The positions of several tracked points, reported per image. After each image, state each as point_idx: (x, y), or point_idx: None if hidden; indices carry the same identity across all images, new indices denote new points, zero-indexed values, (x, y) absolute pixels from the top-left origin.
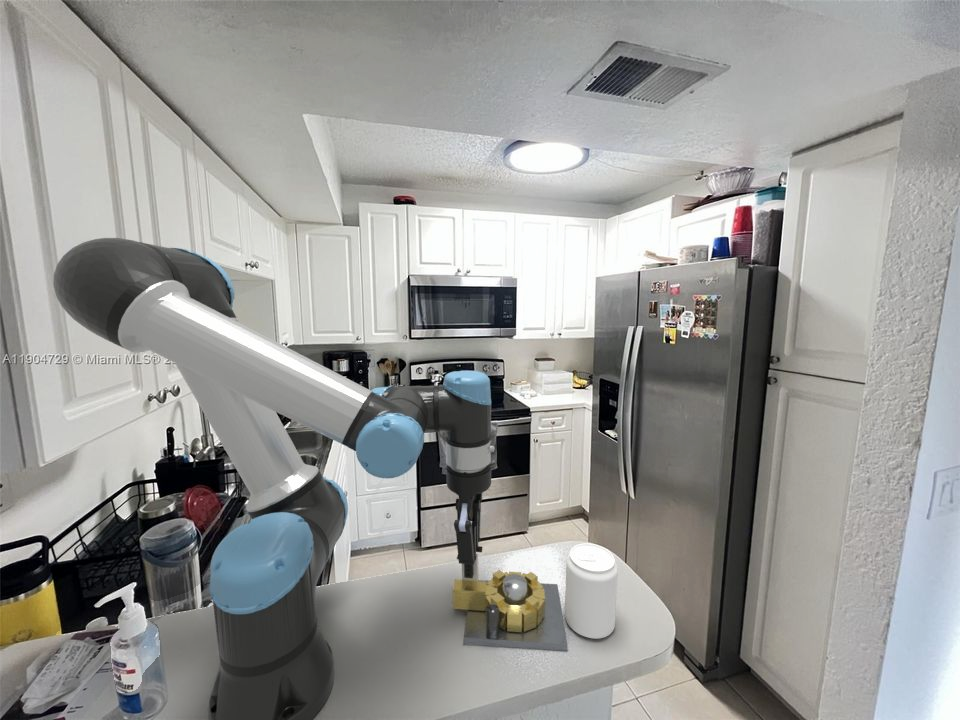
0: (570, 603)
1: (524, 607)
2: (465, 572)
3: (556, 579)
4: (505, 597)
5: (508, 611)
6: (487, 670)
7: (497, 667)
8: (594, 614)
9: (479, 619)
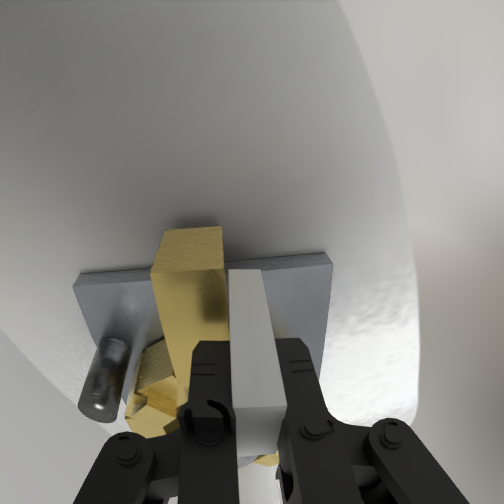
0: None
1: None
2: (190, 372)
3: (338, 418)
4: None
5: (135, 421)
6: (48, 330)
7: (63, 347)
8: None
9: (149, 316)
